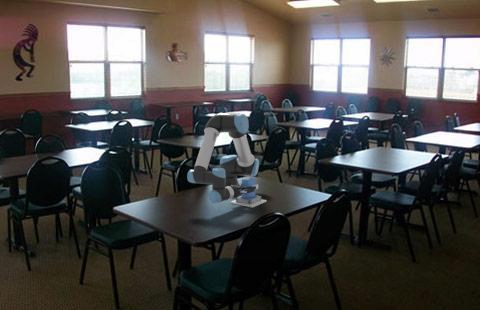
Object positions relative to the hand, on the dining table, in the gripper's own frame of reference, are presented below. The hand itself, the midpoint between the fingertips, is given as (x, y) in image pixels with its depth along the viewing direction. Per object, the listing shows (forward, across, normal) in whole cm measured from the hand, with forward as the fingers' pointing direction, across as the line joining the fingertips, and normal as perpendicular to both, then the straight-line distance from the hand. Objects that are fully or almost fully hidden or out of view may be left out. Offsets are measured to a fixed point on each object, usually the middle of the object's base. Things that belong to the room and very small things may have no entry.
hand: (253, 185), depth 306 cm
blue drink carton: (-5, 0, -7) cm, 9 cm away
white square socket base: (-5, 0, -10) cm, 11 cm away
